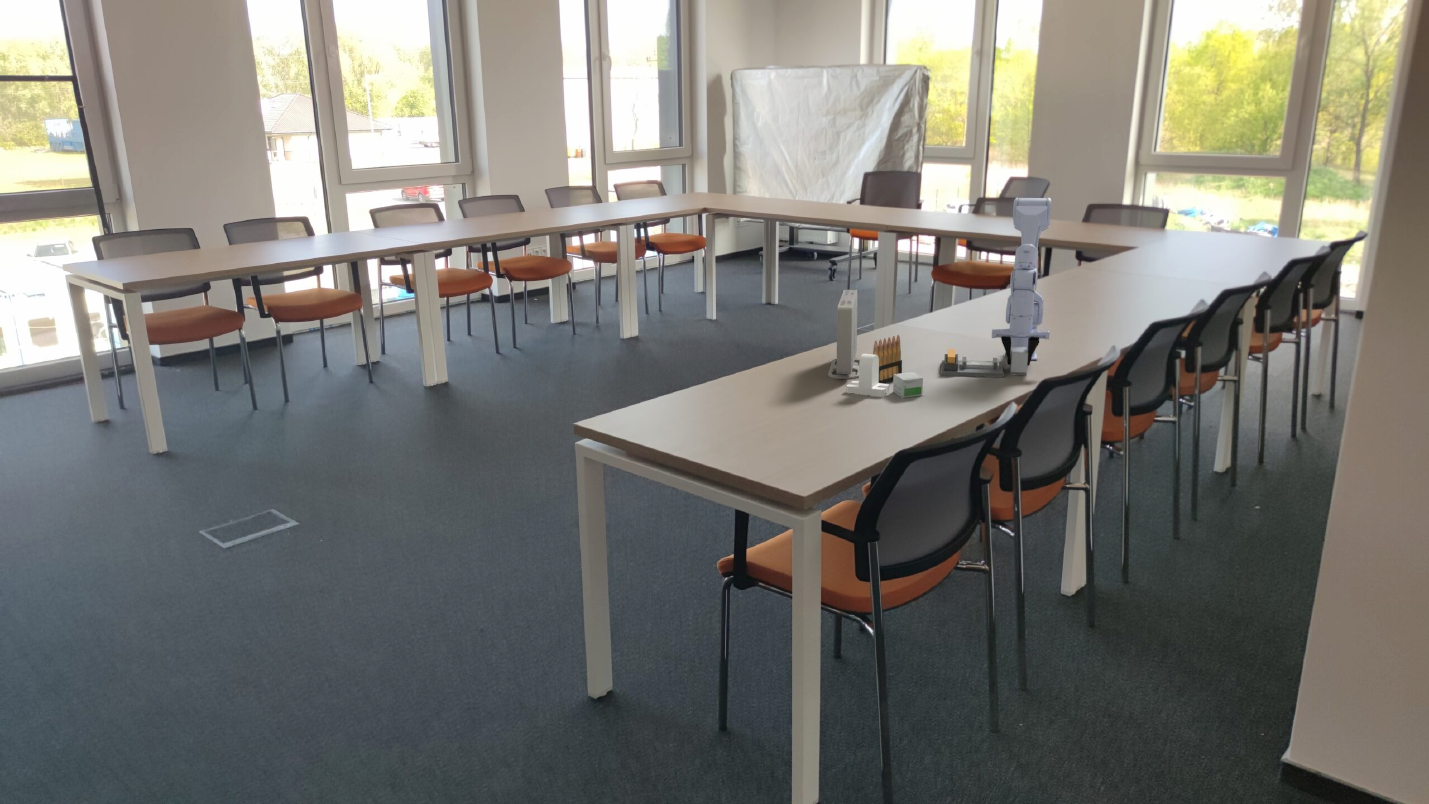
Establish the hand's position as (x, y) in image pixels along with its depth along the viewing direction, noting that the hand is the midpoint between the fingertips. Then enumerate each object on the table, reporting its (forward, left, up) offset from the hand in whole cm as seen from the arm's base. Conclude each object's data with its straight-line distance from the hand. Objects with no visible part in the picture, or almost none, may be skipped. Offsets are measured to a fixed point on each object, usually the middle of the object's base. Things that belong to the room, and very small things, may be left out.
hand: (1018, 364), depth 257 cm
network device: (+3, -46, -2) cm, 46 cm away
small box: (+24, -28, -2) cm, 37 cm away
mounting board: (0, -12, -2) cm, 12 cm away
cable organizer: (+24, -38, -2) cm, 45 cm away
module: (0, 0, -2) cm, 2 cm away
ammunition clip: (+14, -34, -2) cm, 37 cm away
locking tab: (0, -18, +1) cm, 18 cm away
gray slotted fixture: (0, -12, -1) cm, 12 cm away
